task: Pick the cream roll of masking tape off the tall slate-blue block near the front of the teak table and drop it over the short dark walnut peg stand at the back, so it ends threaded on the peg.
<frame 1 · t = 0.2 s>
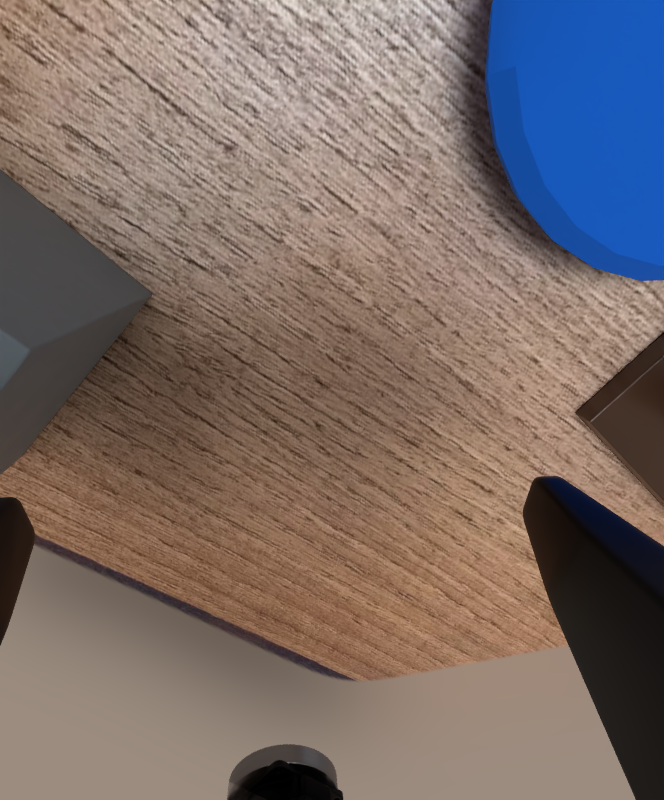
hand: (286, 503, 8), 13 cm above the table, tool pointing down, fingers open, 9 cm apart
blue rounded piece: (649, 69, 19), on the table
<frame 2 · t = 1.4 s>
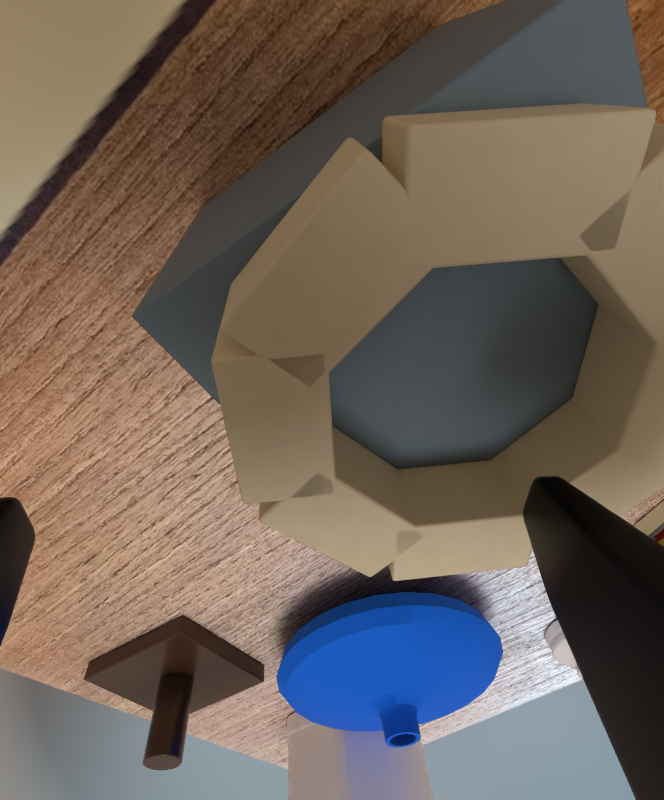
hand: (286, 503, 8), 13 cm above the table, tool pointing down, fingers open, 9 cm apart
chess pawn: (573, 625, 37), on the table
tape: (455, 365, 11), point 10 cm above the table, touching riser
jar: (350, 712, 43), on the table
blue rounded piece: (382, 628, 35), on the table
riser: (380, 242, 19), on the table
stand: (179, 664, 35), on the table
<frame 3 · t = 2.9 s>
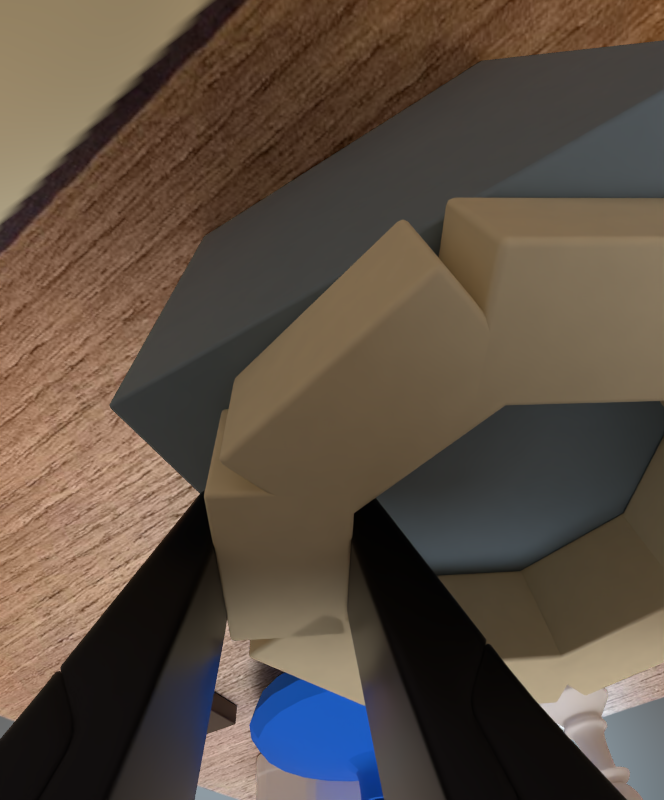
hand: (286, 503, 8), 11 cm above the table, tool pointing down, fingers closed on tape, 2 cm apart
chess pawn: (562, 677, 36), on the table
tape: (495, 474, 9), point 10 cm above the table, touching gripper, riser
jar: (324, 753, 41), on the table
blue rounded piece: (364, 674, 34), on the table
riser: (398, 287, 17), on the table
stand: (146, 701, 33), on the table
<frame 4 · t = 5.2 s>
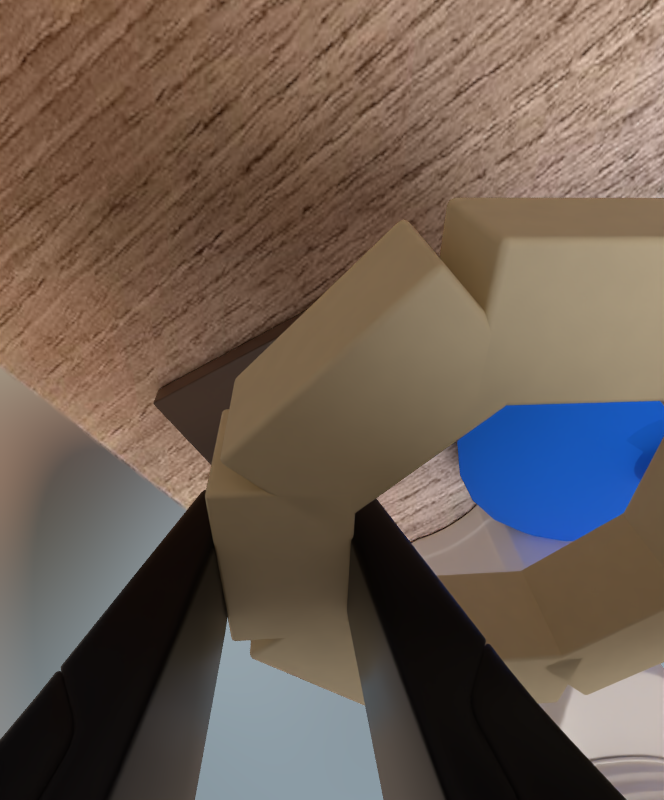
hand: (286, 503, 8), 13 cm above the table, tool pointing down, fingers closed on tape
tape: (495, 474, 9), point 13 cm above the table, touching gripper
jar: (483, 553, 31), on the table
blue rounded piece: (591, 385, 24), on the table
stand: (290, 415, 23), on the table
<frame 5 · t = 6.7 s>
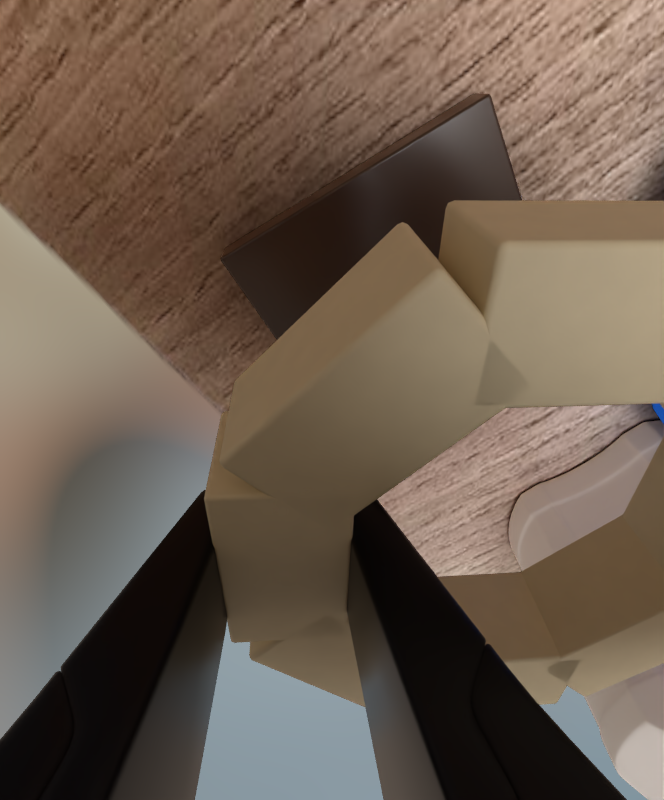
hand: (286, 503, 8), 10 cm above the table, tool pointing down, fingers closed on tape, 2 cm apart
tape: (495, 476, 9), point 10 cm above the table, touching gripper
jar: (615, 505, 25), on the table
stand: (400, 293, 17), on the table
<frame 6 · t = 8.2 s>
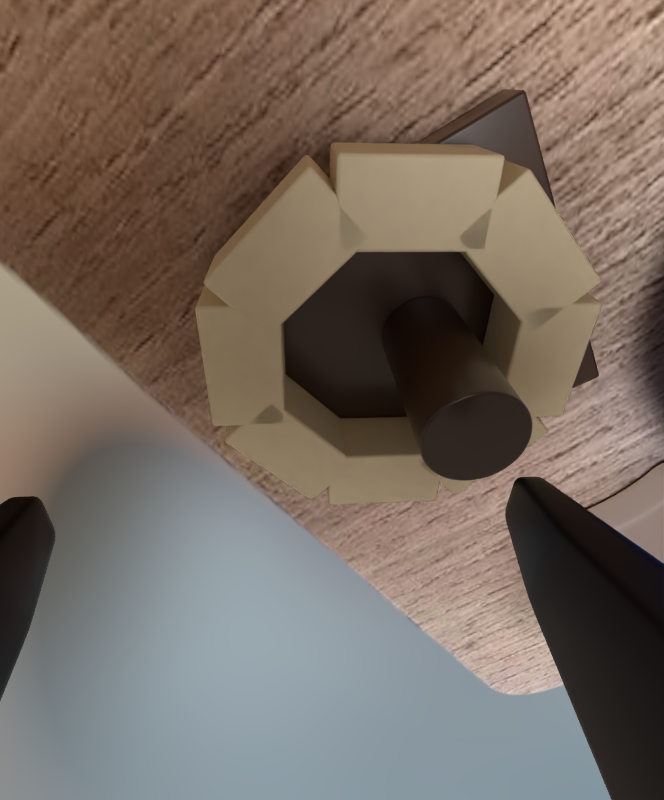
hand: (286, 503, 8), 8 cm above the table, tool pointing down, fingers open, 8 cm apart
tape: (385, 334, 14), point 1 cm above the table, touching stand
jar: (642, 539, 23), on the table
stand: (413, 317, 15), on the table
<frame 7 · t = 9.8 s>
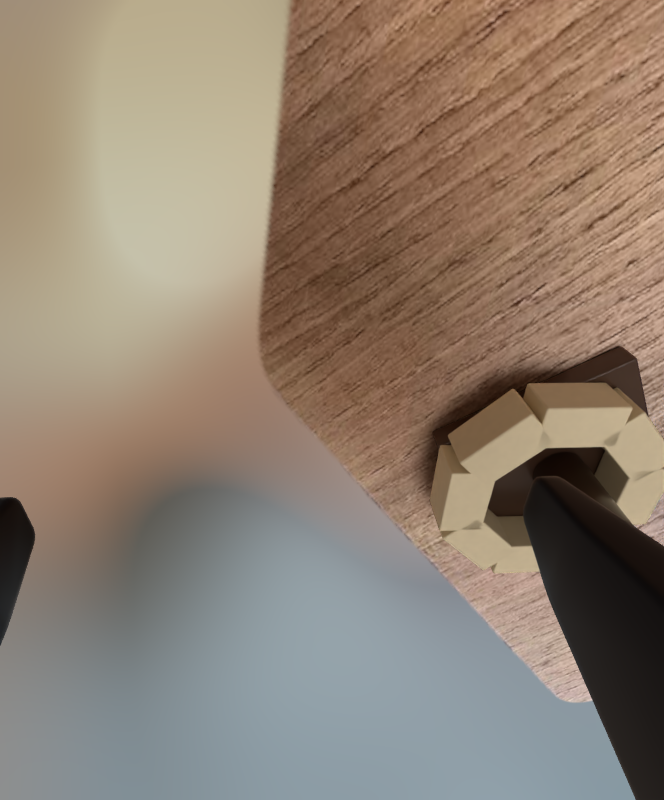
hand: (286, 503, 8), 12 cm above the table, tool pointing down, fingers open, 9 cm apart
tape: (535, 471, 23), point 1 cm above the table, touching stand
stand: (546, 455, 24), on the table
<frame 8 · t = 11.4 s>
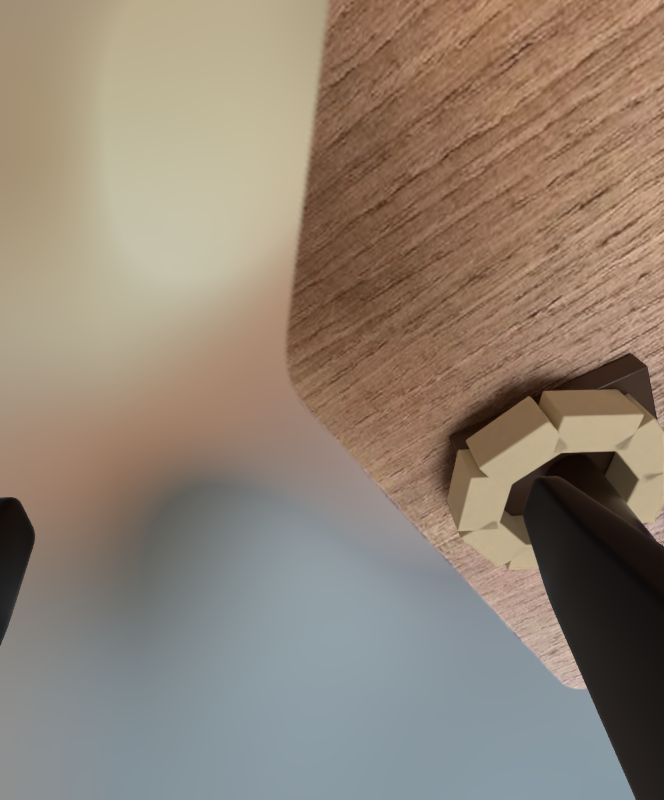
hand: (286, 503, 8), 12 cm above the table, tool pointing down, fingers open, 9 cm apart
tape: (548, 472, 24), point 1 cm above the table, touching stand
stand: (558, 456, 25), on the table
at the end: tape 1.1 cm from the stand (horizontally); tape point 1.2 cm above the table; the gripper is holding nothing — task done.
